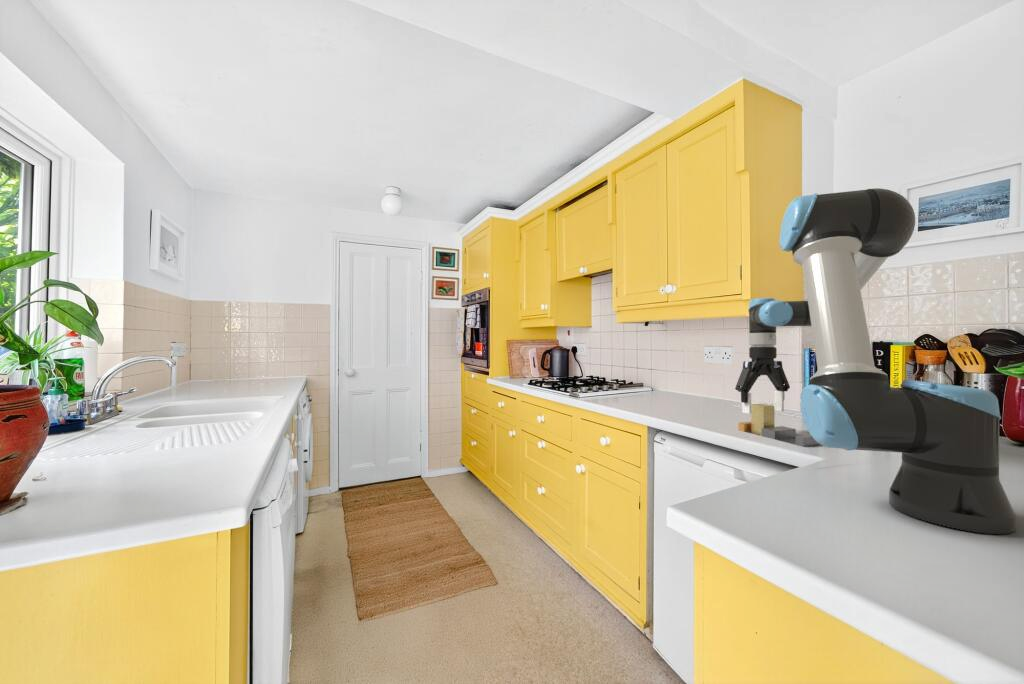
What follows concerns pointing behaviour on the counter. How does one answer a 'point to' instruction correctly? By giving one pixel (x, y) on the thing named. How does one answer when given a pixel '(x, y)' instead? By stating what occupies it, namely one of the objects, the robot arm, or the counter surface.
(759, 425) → the brass block
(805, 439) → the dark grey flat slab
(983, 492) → the robot arm
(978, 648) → the counter surface
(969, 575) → the counter surface
